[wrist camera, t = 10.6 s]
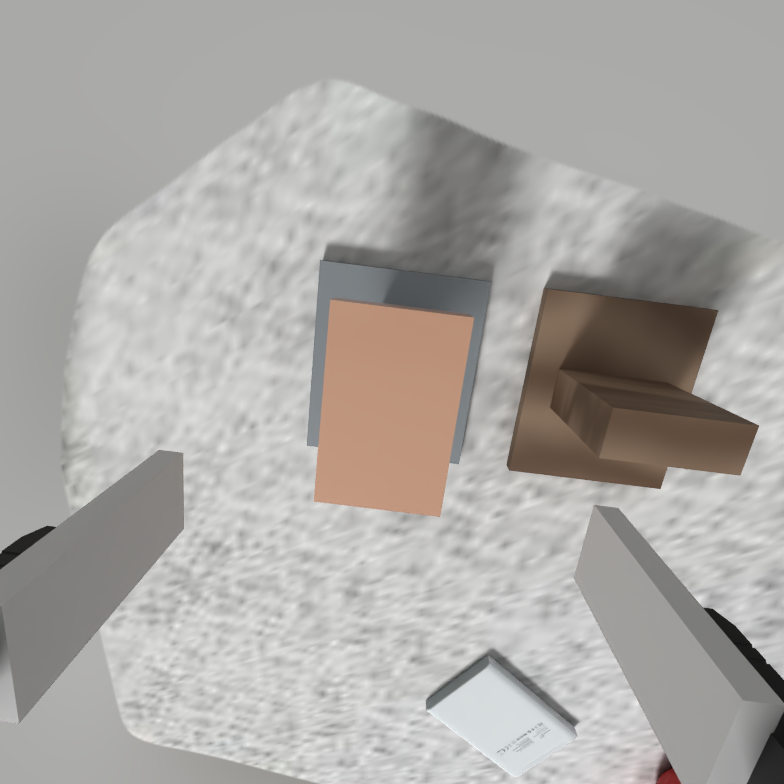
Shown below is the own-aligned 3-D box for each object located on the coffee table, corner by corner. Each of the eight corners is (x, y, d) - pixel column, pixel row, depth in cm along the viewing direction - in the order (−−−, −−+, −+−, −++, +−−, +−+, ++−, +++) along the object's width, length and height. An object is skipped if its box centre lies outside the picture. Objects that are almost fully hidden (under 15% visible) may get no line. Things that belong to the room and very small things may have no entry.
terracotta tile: (469, 314, 23) (474, 317, 22) (438, 502, 26) (440, 516, 25) (334, 297, 23) (330, 299, 22) (318, 488, 26) (313, 501, 25)
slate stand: (457, 458, 36) (476, 530, 27) (309, 440, 36) (275, 505, 27) (488, 281, 32) (523, 290, 23) (322, 260, 32) (287, 260, 23)
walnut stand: (653, 482, 36) (742, 562, 27) (506, 464, 36) (542, 538, 27) (709, 308, 33) (835, 329, 23) (543, 288, 32) (602, 300, 23)
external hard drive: (487, 649, 42) (573, 722, 45) (425, 696, 44) (510, 763, 46) (490, 664, 41) (579, 739, 43) (425, 712, 43) (514, 781, 45)
